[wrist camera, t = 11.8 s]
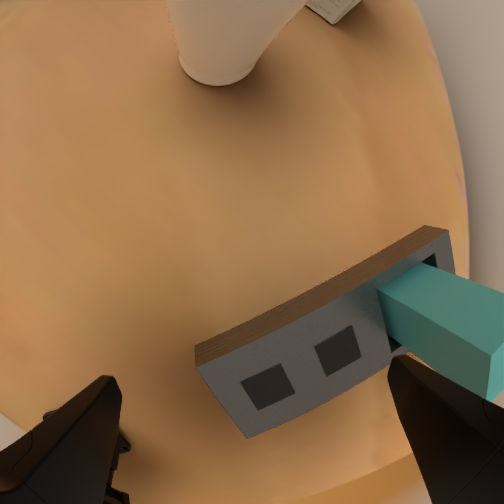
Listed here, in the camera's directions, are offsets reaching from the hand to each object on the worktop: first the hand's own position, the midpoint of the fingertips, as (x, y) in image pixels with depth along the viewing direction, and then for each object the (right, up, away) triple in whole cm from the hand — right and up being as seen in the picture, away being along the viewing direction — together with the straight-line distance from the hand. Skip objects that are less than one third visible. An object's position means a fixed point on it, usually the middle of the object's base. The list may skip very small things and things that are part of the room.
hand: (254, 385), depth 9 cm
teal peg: (+12, +1, +15) cm, 19 cm away
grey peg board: (+7, -2, +15) cm, 16 cm away
